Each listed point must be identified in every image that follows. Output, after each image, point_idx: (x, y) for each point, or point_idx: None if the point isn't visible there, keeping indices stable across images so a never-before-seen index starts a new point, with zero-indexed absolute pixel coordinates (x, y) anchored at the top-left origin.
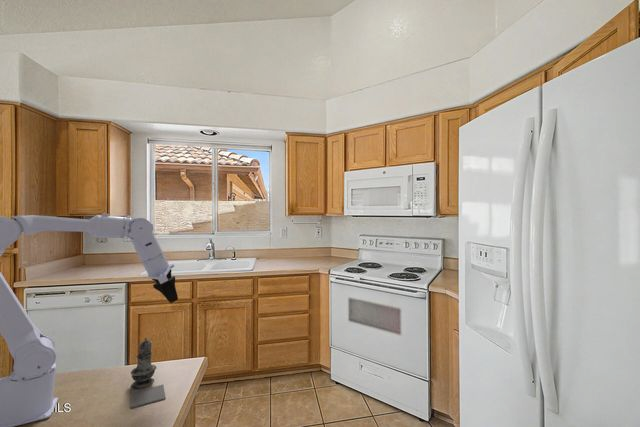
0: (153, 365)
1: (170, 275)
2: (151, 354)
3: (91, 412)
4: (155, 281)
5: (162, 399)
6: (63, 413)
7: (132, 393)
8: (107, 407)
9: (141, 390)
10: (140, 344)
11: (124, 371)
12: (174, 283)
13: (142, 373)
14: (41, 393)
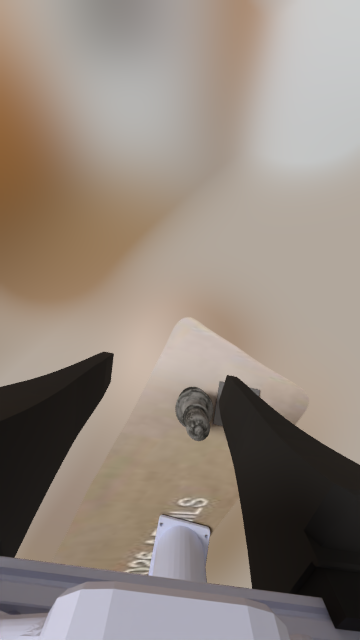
0: (190, 392)
1: (39, 411)
2: (203, 407)
3: (230, 476)
4: (30, 518)
5: (258, 393)
6: (207, 508)
7: (217, 423)
8: (230, 456)
9: (217, 410)
10: (200, 440)
11: (130, 415)
12: (340, 457)
13: (209, 415)
14: (204, 581)
